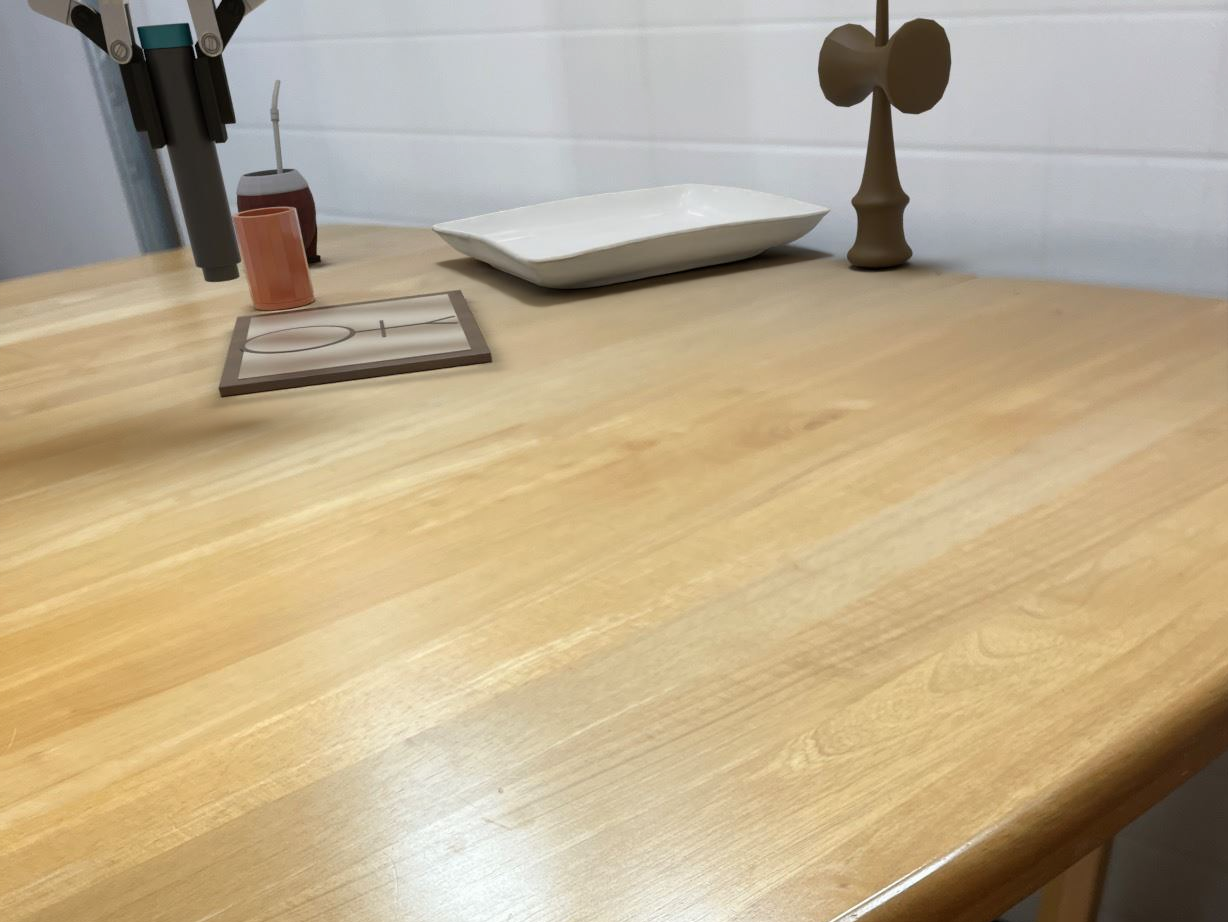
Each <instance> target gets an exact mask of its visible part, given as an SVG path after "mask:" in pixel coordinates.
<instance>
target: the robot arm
mask: <svg viewBox="0 0 1228 922" xmlns="http://www.w3.org/2000/svg"><path fill="white" fill-rule="evenodd" d="M267 1H268V0H221V1H220V2H219V4H218V6H217V5H216V1H215V0H186V2H187V6H188V9H189V13H190V17H191V20H192V23H193V24H192V25H193V29H194V32H195V35H196V38H197V41H196V42H195V44H194V52H195V56H196V60H195V61H193V63H194V68H195V73H196V77H197V82H198V86H199V90H200V95H201V99H202V104H203V108H204V112H205V117H206V121H207V126H208V130H209V134H210V139H211V141H215V145H216V144H225V143H226V142H227V141H228V140H229V136H228V131H227V126H226V125H234V124H237V118H236V114H235V108H234V104H233V100H232V95H231V90H230V87H229V81H228V76H227V71H226V67H225V63H224V58H223V52H224V51H225V49H226V47H228V44H229V43H230V41H231V40H232V38H233V36H234V34H235V33H236V31H237V29H238V28H239V26H240V25H241V24H242V21H243V20H244V19H245V17H246V16H248V15H249V14H250V13H252V12H253V11H255V10H256V9H258V8H259V7H260V6H262V5H263V4H265V2H267ZM26 2H27V4H28V6H29V8H30V9H31V10H32V11H33V12H35V13H36V14H39V15H42V16H44V17H46V18H49V19H51V20H52V21H53V20H54V21H56V22H59V23H60V24H63V25H65V26H68V27H70V28H73V29H75V30H77V31H78V32H80V33H81V34H83V35H84V36H85V37H86V38H87V39H88V40H90V41H91V42H92V43H93V44H95V45H96V46H97V47H98V48H99V49H100V50H102V51H103V53H105V54H107V55H108V56H109V57H110V58H111V60H112V61H114V62H115V63H116V64H118V66H119V67H118V68H119V70H120V75H121V79H122V82H123V87H124V90H125V91H124V92H125V94H126V99H127V102H128V106H129V110H130V114H131V118H132V122H133V126H134V128H135V131H136V133H143V132H147V135H148V140H149V143H150V147H151V149H152V150H161V149H164V147H165V146H166V144H167V143H166V139H165V135H164V131H163V127H162V123H161V119H160V115H159V110H158V106H157V102H156V98H155V94H154V90H153V86H152V82H151V78H150V73H149V69H148V65H147V64H146V60H145V56H144V52H143V50H144V49H142V47H141V46H139V45H138V41H137V36H136V33H135V27H134V26H135V25H134V21H133V17H132V11H131V7H130V6H131V5H130V1H129V0H97V3H98V9H99V11H97V9H95V8H94V7H92V6H91V5H88V4H86V3H83V2H81V1H79V0H27V1H26Z"/></svg>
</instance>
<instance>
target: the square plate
mask: <svg viewBox="0 0 1228 922" xmlns="http://www.w3.org/2000/svg"><path fill="white" fill-rule="evenodd" d="M830 212H831V209H830V208H829V207H826V206H823V205H818V204H814V203H810V202H807V201H804V200H803V201H802V200H799V199H795V198H791V197H787V196H783V195H779V194H775V193H770V192H765V191H760V190H755V189H751V188H744V187H737V186H728V185H718V184H717V185H715V184H705V183H697V182H696V183H695V182H694V183H693V182H689V183H680V184H674V185H665V186H658V187H650V188H641V189H640V188H639V189H631V190H624V191H616V192H615V191H614V192H605V193H598V194H591V195H583V196H576V197H572V198H571V197H570V198H563V199H558V200H552V201H547V202H541V203H535V204H530V205H529V204H528V205H526V206H525V205H524V206H521V207H520V206H519V207H514V208H509V209H504V210H500V211H494V212H489V213H485V214H480V215H474V216H471V217H464V218H460V219H455V220H449V221H444V222H438V223H435V224H433V225H431V231H433V232H434V233H435V234H437V235H438V236H439V237H440V238H441V239H442V240H443V241H444V242H445V243H446V244H447V245H449V246H450V247H452V248H453V249H454V250H456V251H457V252H459V253H460V254H463V255H465V256H468V257H470V258H473V259H476V260H479V261H481V262H484V263H486V264H488V265H489V266H491V267H492V268H494V269H497V270H499V271H501V272H504V273H506V274H509V275H512V276H515V277H517V278H520V279H522V280H524V281H527V282H529V283H531V284H534V285H537V286H539V287H542V288H548V289H560V290H569V289H572V290H573V289H588V288H595V287H602V286H609V285H614V284H619V283H624V282H630V281H635V280H640V279H644V278H649V277H656V276H660V275H661V276H662V275H666V274H671V273H672V274H673V273H677V272H682V271H688V270H692V269H698V268H702V267H708V266H709V267H710V266H715V265H721V264H726V263H733V262H737V261H741V260H745V259H749V258H753V257H756V256H758V255H760V254H762V253H764V252H765V251H766V250H767V249H771V248H777V247H780V246H784V245H787V244H790V243H793V242H795V241H797V240H799V239H801V238H803V237H805V236H806V235H807V234H809V233H810V232H811V231H813V230H814V229H815V228H816V226H818V224H819V223H820V222H821V221H822V220H823V219H824V217H825V216H827V215H828V214H829V213H830Z"/></svg>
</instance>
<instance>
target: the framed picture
mask: <svg viewBox="0 0 1228 922" xmlns="http://www.w3.org/2000/svg"><path fill="white" fill-rule="evenodd" d="M492 361H493V357H492V352H491V350H490V348H489V345H488V344H487V342H486V339H485V338H484V335H483V333H482V332H481V329H480V327H479V325H478V323H477V321H476V319H475V316H474V315H473V313H472V310H471V309H470V307H469V304H468V302H467V300H466V298H465V295H464V294H463V291H462V289H456V290H446V291H439V292H431V293H421V294H414V295H408V296H407V295H406V296H398V297H390V298H382V299H372V300H365V301H357V302H349V303H340V304H331V305H325V306H317V307H316V306H315V307H308V308H299V309H292V310H284V311H274V312H267V313H259V314H249V315H242V316H237V317H236V320H235V323H234V327H233V331H232V335H231V339H230V343H229V346H228V350H227V355H226V358H225V362H224V366H223V369H222V373H221V377H220V381H219V385H218V391H219V395H220V397H226V396H227V397H228V396H237V395H243V394H251V393H252V394H253V393H259V392H267V391H274V390H282V389H289V388H299V387H305V386H313V385H321V384H327V383H328V384H329V383H337V382H344V381H351V380H359V379H366V378H374V377H375V378H376V377H381V376H390V375H398V374H406V373H412V372H421V371H429V370H436V369H444V368H452V367H459V366H467V365H473V364H475V365H476V364H483V363H490V362H492Z"/></svg>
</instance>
